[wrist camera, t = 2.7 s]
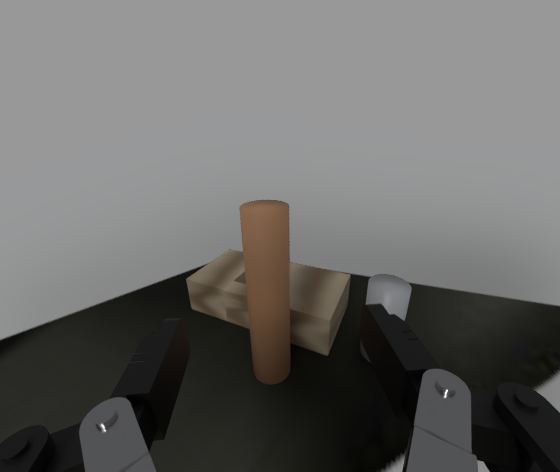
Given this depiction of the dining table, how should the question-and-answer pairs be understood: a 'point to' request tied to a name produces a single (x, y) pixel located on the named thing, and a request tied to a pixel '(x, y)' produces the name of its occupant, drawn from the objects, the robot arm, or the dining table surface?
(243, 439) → the dining table surface
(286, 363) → the long dowel
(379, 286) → the short dowel
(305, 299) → the wooden block with hole
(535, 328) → the dining table surface
